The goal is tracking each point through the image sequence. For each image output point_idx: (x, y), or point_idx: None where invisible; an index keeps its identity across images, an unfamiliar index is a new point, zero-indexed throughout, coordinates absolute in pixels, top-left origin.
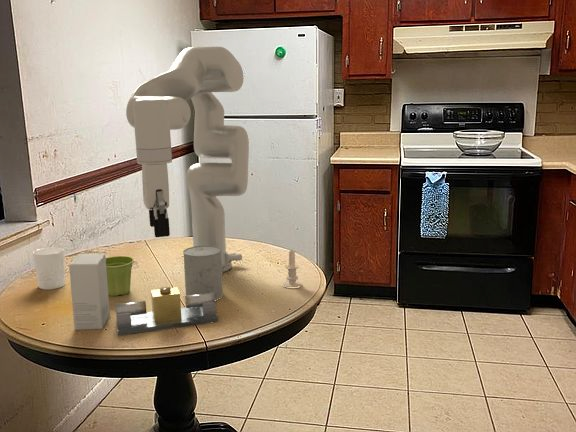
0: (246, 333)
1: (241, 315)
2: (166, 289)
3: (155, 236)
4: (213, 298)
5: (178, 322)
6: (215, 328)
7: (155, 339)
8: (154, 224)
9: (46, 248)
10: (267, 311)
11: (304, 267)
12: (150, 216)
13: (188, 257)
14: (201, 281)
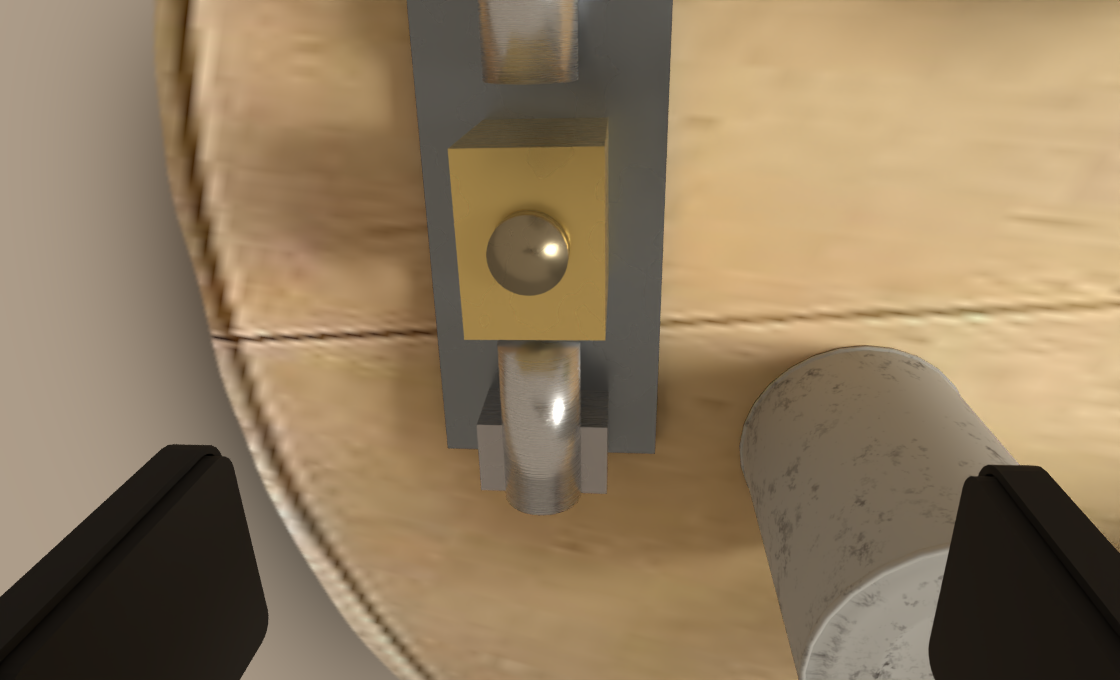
0: (290, 513)
1: (501, 544)
2: (506, 264)
3: (174, 450)
4: (506, 494)
5: (439, 253)
6: (376, 409)
7: (301, 101)
8: (2, 602)
9: None
10: (513, 645)
11: None
12: (1083, 629)
13: (895, 549)
14: (774, 497)
